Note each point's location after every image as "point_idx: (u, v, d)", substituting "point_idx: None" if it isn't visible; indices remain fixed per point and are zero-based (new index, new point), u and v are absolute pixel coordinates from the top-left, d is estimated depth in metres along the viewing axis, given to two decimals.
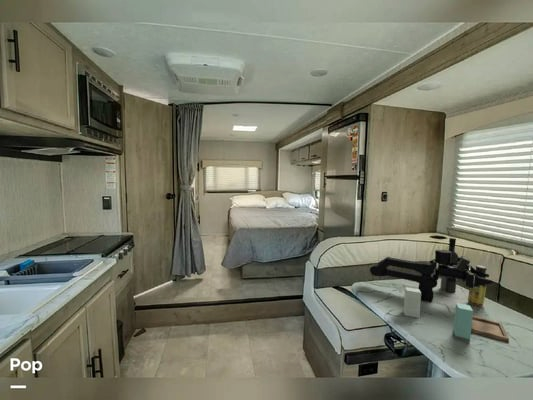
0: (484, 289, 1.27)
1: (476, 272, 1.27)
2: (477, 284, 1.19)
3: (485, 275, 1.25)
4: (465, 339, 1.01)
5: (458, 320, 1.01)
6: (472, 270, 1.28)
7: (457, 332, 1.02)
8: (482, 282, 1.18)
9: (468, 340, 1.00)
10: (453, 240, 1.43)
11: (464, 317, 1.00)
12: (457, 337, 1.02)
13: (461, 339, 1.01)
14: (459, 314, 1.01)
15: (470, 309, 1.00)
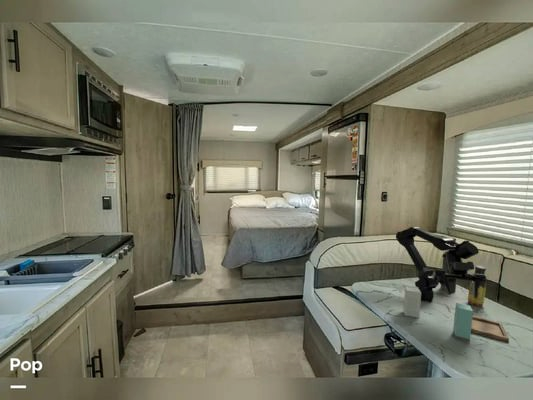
0: (484, 289, 1.27)
1: (473, 286, 1.10)
2: (441, 283, 1.16)
3: (474, 294, 1.09)
4: (465, 339, 1.01)
5: (458, 320, 1.01)
6: (474, 282, 1.11)
7: (457, 332, 1.02)
8: (444, 285, 1.14)
9: (468, 340, 1.00)
10: None
11: (464, 317, 1.00)
12: (457, 337, 1.02)
13: (461, 339, 1.01)
14: (459, 314, 1.01)
15: (470, 309, 1.00)
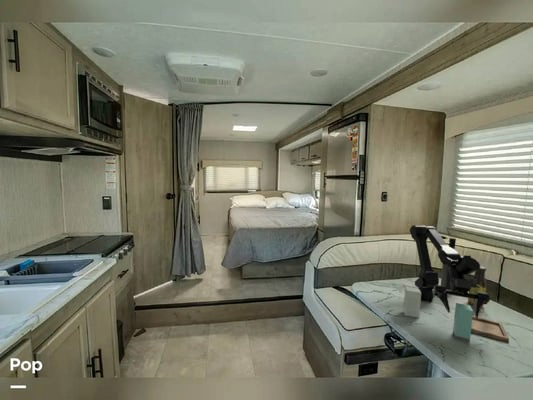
0: (484, 289, 1.27)
1: (476, 305, 1.04)
2: (441, 299, 1.11)
3: (475, 314, 1.03)
4: (465, 339, 1.01)
5: (458, 320, 1.01)
6: (476, 301, 1.04)
7: (457, 332, 1.02)
8: (444, 302, 1.09)
9: (468, 340, 1.00)
10: (453, 240, 1.43)
11: (464, 317, 1.00)
12: (457, 337, 1.02)
13: (461, 339, 1.01)
14: (459, 314, 1.01)
15: (470, 309, 1.00)
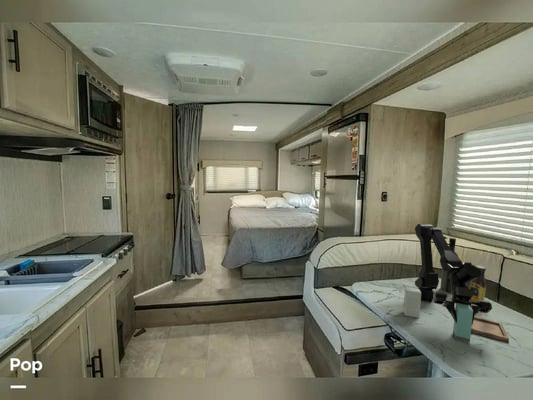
0: (484, 289, 1.27)
1: None
2: (448, 308, 1.08)
3: None
4: (465, 339, 1.01)
5: (458, 320, 1.01)
6: None
7: (457, 332, 1.02)
8: (451, 312, 1.05)
9: (468, 340, 1.00)
10: (453, 240, 1.43)
11: (464, 317, 1.00)
12: (457, 337, 1.02)
13: (461, 339, 1.01)
14: (459, 314, 1.01)
15: (470, 309, 1.00)
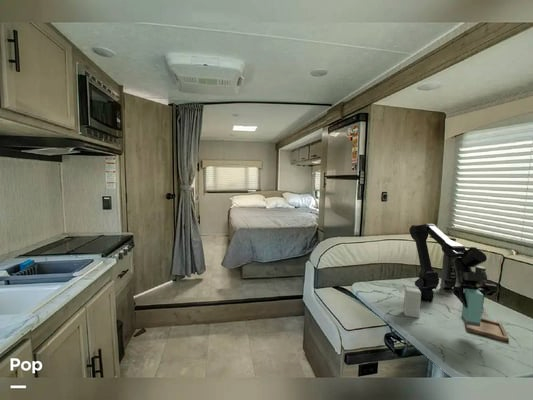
0: None
1: None
2: (456, 294, 1.07)
3: None
4: (475, 323, 1.01)
5: (469, 305, 1.01)
6: None
7: (468, 317, 1.02)
8: (460, 297, 1.05)
9: (478, 324, 1.01)
10: (453, 240, 1.43)
11: (475, 302, 1.01)
12: (468, 322, 1.02)
13: (472, 324, 1.02)
14: (470, 299, 1.01)
15: (480, 293, 1.01)
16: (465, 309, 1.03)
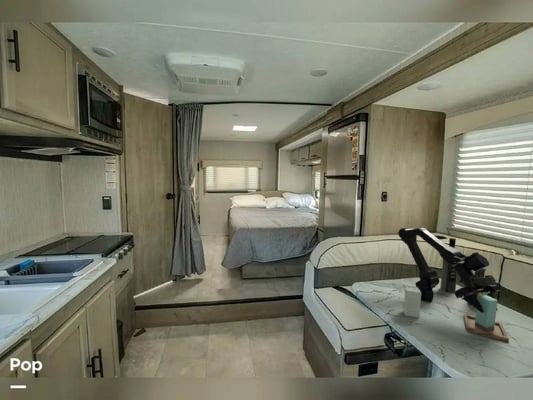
0: None
1: None
2: (467, 300, 1.11)
3: None
4: (491, 328, 1.08)
5: (488, 312, 1.06)
6: (489, 294, 1.12)
7: (487, 324, 1.07)
8: (473, 303, 1.09)
9: (493, 328, 1.08)
10: (453, 240, 1.43)
11: (492, 308, 1.07)
12: (486, 328, 1.07)
13: (489, 329, 1.08)
14: (489, 306, 1.06)
15: (494, 299, 1.08)
16: (482, 316, 1.09)
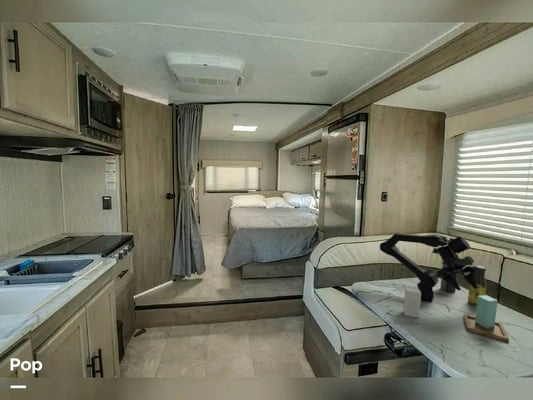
0: (484, 289, 1.27)
1: (471, 278, 1.20)
2: (446, 280, 1.20)
3: (474, 286, 1.18)
4: (491, 328, 1.08)
5: (488, 312, 1.06)
6: (470, 274, 1.21)
7: (487, 324, 1.07)
8: (451, 282, 1.18)
9: (493, 328, 1.08)
10: None
11: (492, 308, 1.07)
12: (486, 328, 1.07)
13: (489, 329, 1.08)
14: (489, 306, 1.06)
15: (494, 299, 1.08)
16: (482, 316, 1.09)
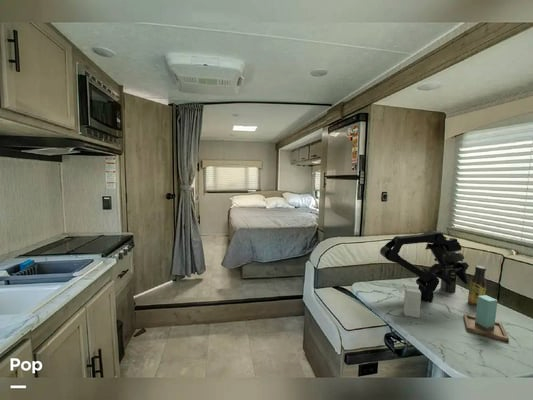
0: (484, 289, 1.27)
1: (461, 273, 1.25)
2: (438, 275, 1.25)
3: (464, 281, 1.24)
4: (491, 328, 1.08)
5: (488, 312, 1.06)
6: (461, 270, 1.26)
7: (487, 324, 1.07)
8: (443, 278, 1.23)
9: (493, 328, 1.08)
10: None
11: (492, 308, 1.07)
12: (486, 328, 1.07)
13: (489, 329, 1.08)
14: (489, 306, 1.06)
15: (494, 299, 1.08)
16: (482, 316, 1.09)
